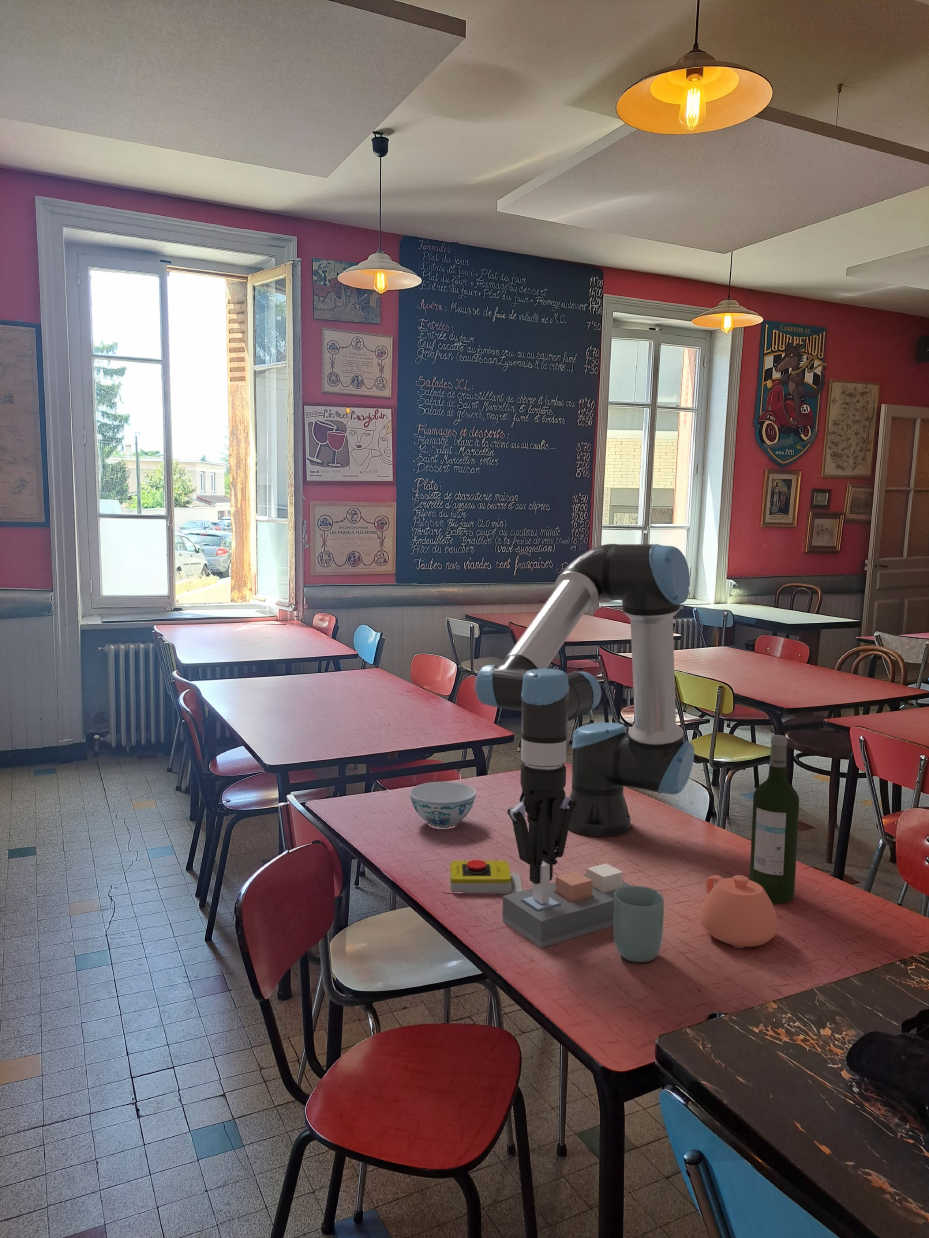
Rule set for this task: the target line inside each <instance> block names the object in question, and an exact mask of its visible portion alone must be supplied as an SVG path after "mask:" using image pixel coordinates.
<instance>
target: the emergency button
mask: <svg viewBox="0 0 929 1238" xmlns="http://www.w3.org/2000/svg"><path fill="white" fill-rule="evenodd" d="M449 865H450V866H449V867H450V868H449V873H450V890H451V891H452V892H463V893H484V895H485V894H486V893H488V894H487V895H491V894H492V895H493V894H496V895H499V894H503V895H504V894H505V895H508V894H512V893H516V892H520V891H524V890H523V885H522V880H521V875H520V874H519V872H511V869H510V866H509V862H508V861H507V860H480V859H473V860H452V861H451V862H450V864H449Z"/></svg>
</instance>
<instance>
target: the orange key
mask: <svg viewBox="0 0 929 1238" xmlns="http://www.w3.org/2000/svg"><path fill="white" fill-rule="evenodd" d="M583 875H584V874H582V873H580V872H577V871H572V872H568V873H564V874H561V875H556V876H555V882H556V894H558V895H559V896H561V897H563V898H564V899H566V900H568V901H569V902H571V903H572V902H575V901H579V900H582V899H586V898H589V897H592V880H591V879H589V878H587V877H585V876H583Z"/></svg>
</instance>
